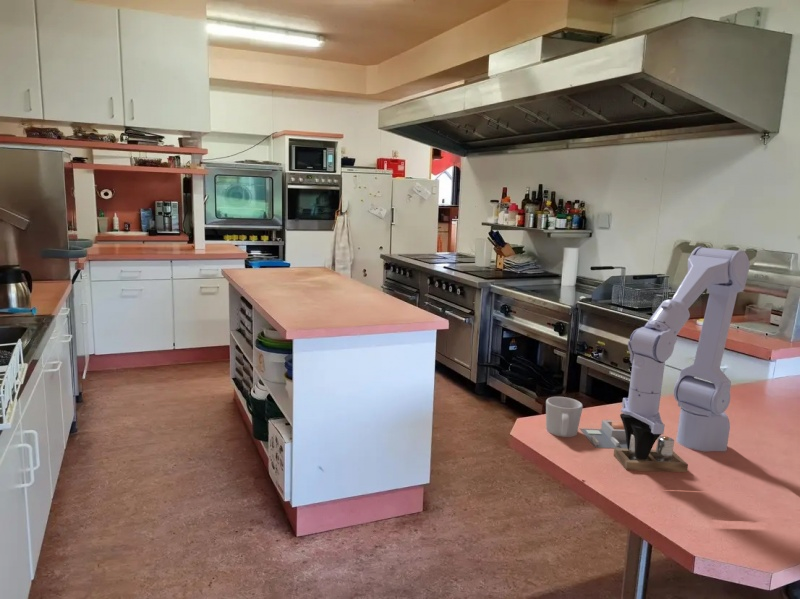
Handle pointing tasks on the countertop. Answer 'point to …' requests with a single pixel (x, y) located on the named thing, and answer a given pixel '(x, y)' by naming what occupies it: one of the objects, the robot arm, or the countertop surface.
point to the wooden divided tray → (650, 462)
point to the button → (618, 425)
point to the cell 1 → (632, 449)
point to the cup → (563, 416)
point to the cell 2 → (664, 448)
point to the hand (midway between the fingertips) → (637, 454)
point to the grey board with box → (606, 436)
